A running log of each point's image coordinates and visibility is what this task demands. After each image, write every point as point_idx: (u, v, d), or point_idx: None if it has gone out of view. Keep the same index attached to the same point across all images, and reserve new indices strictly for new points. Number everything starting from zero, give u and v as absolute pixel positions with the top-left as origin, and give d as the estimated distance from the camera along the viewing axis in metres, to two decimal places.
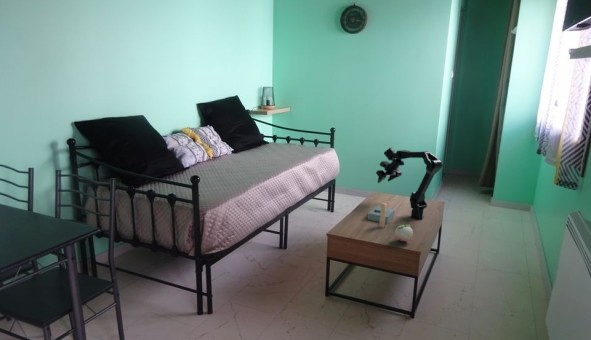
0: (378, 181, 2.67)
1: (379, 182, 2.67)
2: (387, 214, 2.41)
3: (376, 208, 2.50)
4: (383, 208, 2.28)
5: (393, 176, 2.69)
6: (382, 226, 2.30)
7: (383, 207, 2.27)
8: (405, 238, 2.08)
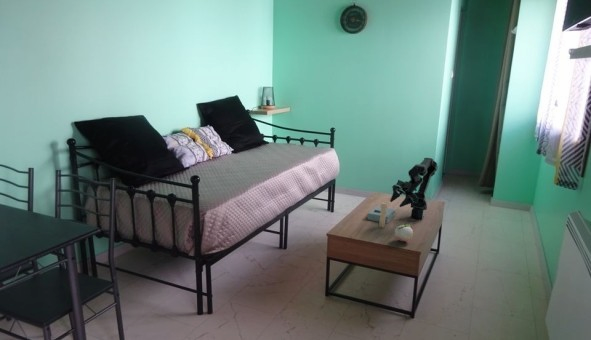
0: (402, 205, 2.27)
1: (402, 206, 2.27)
2: (387, 214, 2.41)
3: (376, 208, 2.50)
4: (383, 208, 2.28)
5: (397, 195, 2.37)
6: (382, 226, 2.30)
7: (383, 207, 2.27)
8: (405, 238, 2.08)
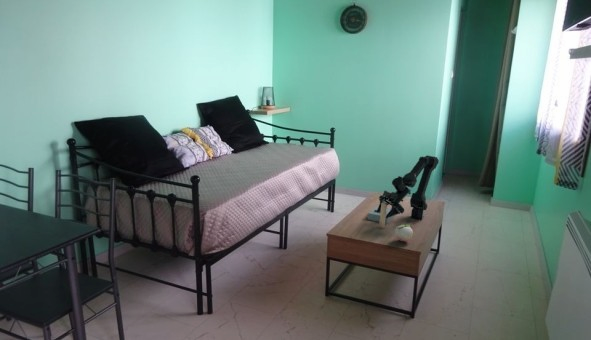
0: (388, 216, 2.25)
1: None
2: None
3: (376, 208, 2.50)
4: (383, 208, 2.28)
5: None
6: (382, 226, 2.30)
7: (383, 207, 2.27)
8: (405, 238, 2.08)
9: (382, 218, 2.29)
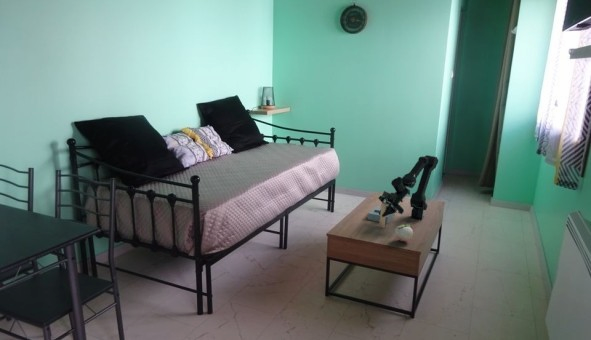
0: (384, 215, 2.28)
1: None
2: None
3: (376, 208, 2.50)
4: (383, 208, 2.28)
5: (386, 208, 2.32)
6: (382, 226, 2.30)
7: (383, 207, 2.27)
8: (405, 238, 2.08)
9: (382, 218, 2.29)
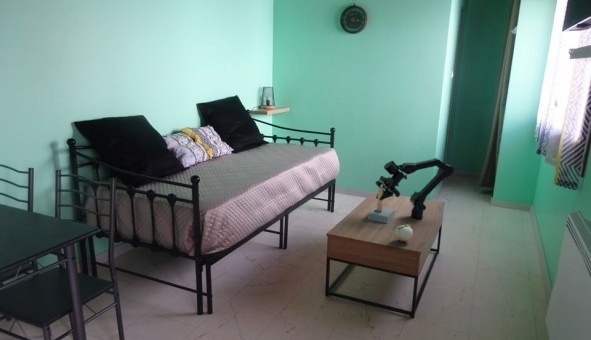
0: (381, 198, 2.38)
1: (382, 199, 2.38)
2: (387, 214, 2.41)
3: (376, 208, 2.50)
4: (380, 192, 2.38)
5: (383, 192, 2.42)
6: (379, 209, 2.40)
7: (380, 191, 2.37)
8: (405, 238, 2.08)
9: (379, 202, 2.39)
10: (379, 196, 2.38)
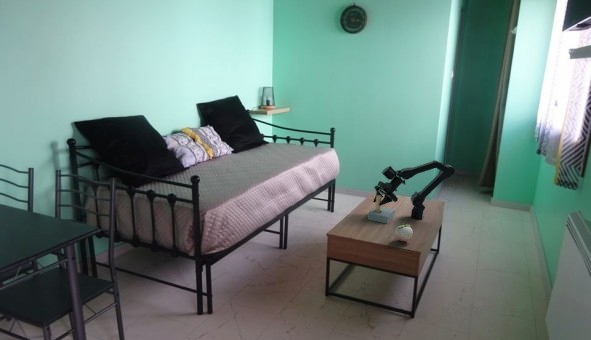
0: (381, 204, 2.40)
1: None
2: (387, 214, 2.41)
3: None
4: (378, 200, 2.42)
5: None
6: None
7: (378, 199, 2.42)
8: (405, 238, 2.08)
9: (377, 209, 2.43)
10: (377, 204, 2.43)
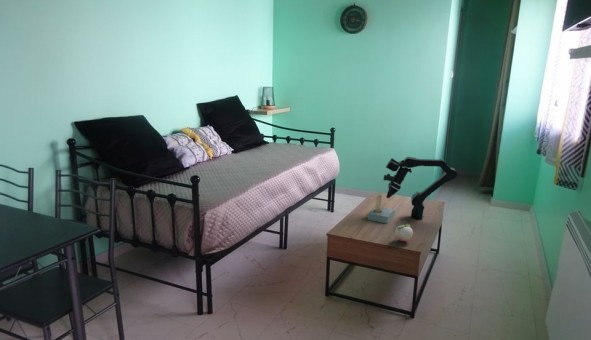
0: (389, 196, 2.40)
1: (390, 196, 2.40)
2: (387, 214, 2.41)
3: None
4: (378, 200, 2.42)
5: None
6: None
7: (378, 199, 2.42)
8: (405, 238, 2.08)
9: (377, 209, 2.43)
10: (377, 204, 2.43)
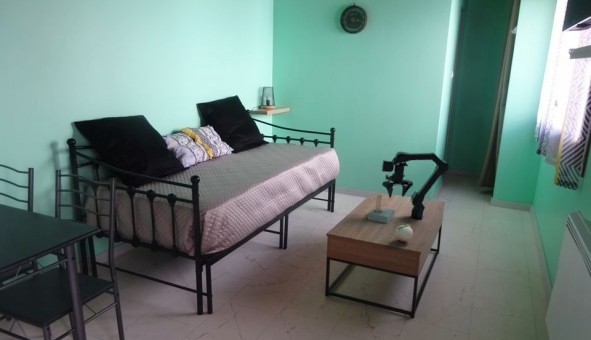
0: (389, 195, 2.46)
1: (390, 196, 2.45)
2: (387, 214, 2.41)
3: None
4: (378, 200, 2.42)
5: (405, 188, 2.47)
6: None
7: (378, 199, 2.42)
8: (405, 238, 2.08)
9: (377, 209, 2.43)
10: (377, 204, 2.43)
